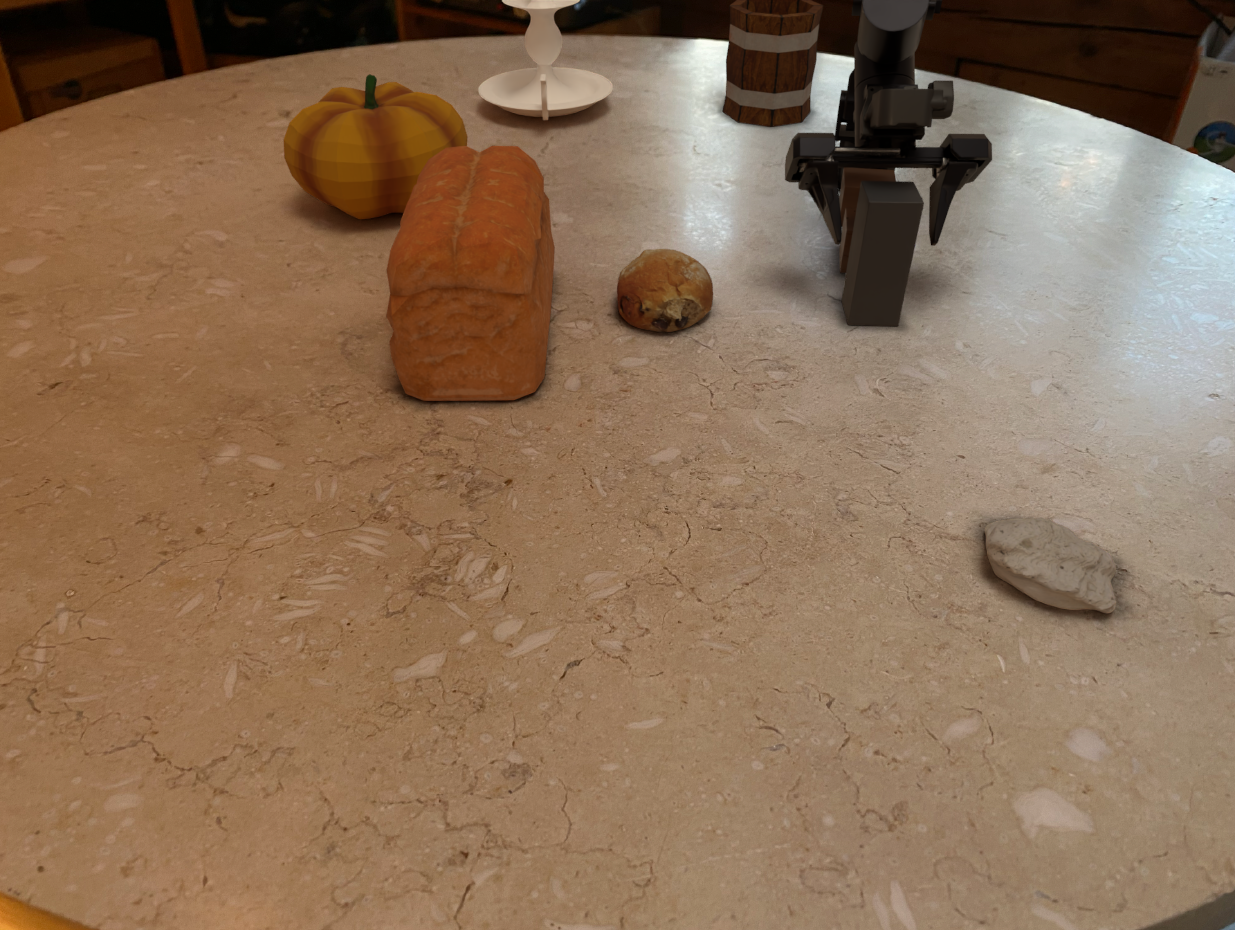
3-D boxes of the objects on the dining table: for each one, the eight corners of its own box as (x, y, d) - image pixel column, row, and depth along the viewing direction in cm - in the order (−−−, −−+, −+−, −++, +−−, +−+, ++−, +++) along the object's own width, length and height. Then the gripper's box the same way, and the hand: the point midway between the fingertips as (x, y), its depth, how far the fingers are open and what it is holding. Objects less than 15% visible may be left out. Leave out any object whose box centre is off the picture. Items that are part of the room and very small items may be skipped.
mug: (817, 127, 139) (831, 17, 129) (725, 127, 139) (733, 17, 129) (798, 85, 154) (810, -15, 145) (716, 85, 154) (722, -15, 145)
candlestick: (473, 143, 134) (451, -81, 116) (484, 88, 153) (466, -111, 136) (617, 140, 135) (617, -83, 117) (609, 86, 154) (608, -113, 136)
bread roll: (715, 333, 100) (728, 256, 98) (694, 340, 90) (708, 256, 88) (627, 317, 102) (638, 243, 100) (598, 323, 93) (608, 241, 91)
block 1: (839, 248, 107) (845, 207, 104) (892, 252, 107) (900, 211, 103) (839, 273, 103) (846, 230, 100) (895, 277, 102) (904, 234, 99)
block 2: (837, 206, 117) (843, 167, 113) (887, 209, 116) (894, 170, 113) (838, 226, 112) (844, 186, 109) (889, 230, 111) (897, 189, 108)
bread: (390, 404, 84) (360, 248, 74) (432, 265, 104) (413, 129, 95) (547, 402, 84) (537, 246, 74) (558, 264, 105) (551, 128, 95)
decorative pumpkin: (292, 181, 123) (264, 62, 114) (458, 161, 129) (445, 45, 119) (301, 246, 108) (271, 115, 99) (489, 220, 114) (477, 93, 104)
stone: (1169, 592, 62) (1038, 576, 60) (1129, 637, 65) (1002, 623, 63) (1100, 492, 70) (980, 475, 68) (1066, 536, 73) (951, 521, 71)
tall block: (841, 301, 98) (860, 180, 90) (889, 302, 98) (913, 181, 90) (847, 325, 94) (869, 201, 86) (898, 326, 94) (924, 202, 86)
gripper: (803, 43, 84) (803, 212, 82) (1013, 44, 84) (1017, 214, 82) (784, 104, 95) (784, 253, 94) (969, 105, 95) (972, 255, 93)
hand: (886, 243), depth 90 cm, fingers open, 9 cm apart
